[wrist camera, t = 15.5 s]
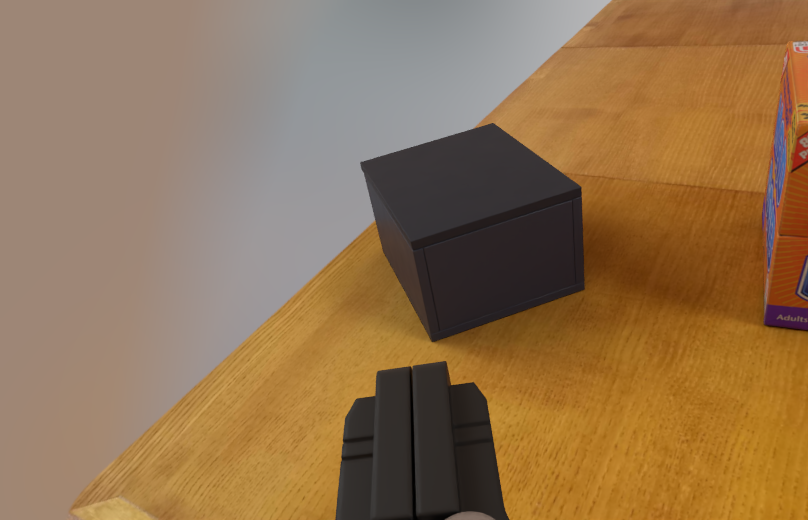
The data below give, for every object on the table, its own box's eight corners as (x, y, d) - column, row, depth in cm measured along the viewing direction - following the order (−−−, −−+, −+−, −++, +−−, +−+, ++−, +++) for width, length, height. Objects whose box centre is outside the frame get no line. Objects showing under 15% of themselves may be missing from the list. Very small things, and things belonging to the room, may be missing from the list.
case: (382, 251, 62) (363, 173, 57) (506, 211, 64) (497, 133, 59) (432, 342, 49) (412, 251, 44) (584, 289, 51) (581, 196, 46)
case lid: (361, 170, 58) (359, 162, 57) (494, 130, 60) (493, 122, 59) (412, 250, 44) (410, 241, 44) (582, 196, 46) (581, 186, 46)
